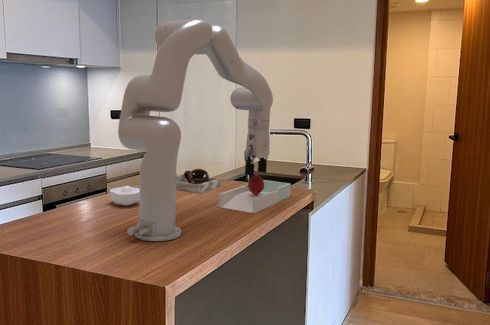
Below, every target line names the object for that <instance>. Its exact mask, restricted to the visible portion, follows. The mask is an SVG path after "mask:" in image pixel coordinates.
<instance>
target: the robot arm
mask: <svg viewBox="0 0 490 325" xmlns="http://www.w3.org/2000/svg"><path fill="white" fill-rule="evenodd" d="M154 40H155V44H156V46H157V47H158V50H157V53H156V56H155V60H154V63H153V68H152V72H151V74H149V75H148V74H144V75H143V74H142V75H137V76H134V77H133V78H131V79H130V81H129V82H128V83H127V85H126V86H125V89H124V94H123V99H122V104H121V108H120V109H121V110H120V116H119V121H118V129H117V130H118V131H117V132H118V133H117V134H118V140H119V142H120V144H121V145H122V146H123V147H124V148H126V149H129V150H133V151H137V152H138V151H139V152H146V153H145V155H144V157H143V159H142V161H141V163H140V167H139V189H140V198H139V213H138V214H139V219H138V220H136V222H137V223H136V224H135V226H131V227H128V228H127V234H128V236H134V238H136V239H138V240H141V241H145V242H146V241H147V242H167V241H172V240H175V239H178V238H179V237H180V236H181V235H182V229H181V227H179V226H177V225H176V221H177V220H176V219H177V218H176V215H177V211H176V210H177V208H176V207H177V190H176V176H177V166H178V165H177V164H178V155H179V149H180V144H181V139H182V138H181V137H182V133H181V132H182V131H181V128H180V126H179V125H178V123H177V122H176V121H175V120H173V119H171V118H169V117H165V116H159V115H158V116H157V115H151V112H155V113H157V112H158V113H171V112H174V111H177V109H178V108H179V107H180V105H181V102H182V99H183V98H182V97H183V92H184V87H185V86H184V85H185V81H186V75H187V70H188V66H189V62H190V61H191V59H192V57H193V56H194V55H206V56H207V57H208V59H209V61H210V63H211V64H212V65H213V67H214V69H215V71H216V72H217V75H219V77H220V78H222V79H224V80H226V81H227V82H231V83H233V84H236V85H239V86H241V87H238V88H236V89H234V90H233V91H232V92H231V94H230V98H229V99H230V104H231V105H232V107H234V108H235V109H237V110H240V111H248V119H247V136H246V143H245V145H246V147H245V150H244V151H243V156H244V164H245V166H244V167H245V168H244V174H245V175H246V176H255V163H254V162H255V161H256V159H258V162H257V172H258V173H266V172H267V166H268V165H267V163H268V157H269V156H270V145H271V144H270V119H271V107H272V106H273V103H274V96H273V92H272V90H271V87H270V86H269V84H268V82H267V80H266V78H265V77H264V76H263V75H262V74H261V73H260V72H259V71H258V70H256V69H255V68H253V67H252V66H250V64H248V63H247V62H245V61H243V59H242V58H241V55H240V54H239V52H238V50H237V48H236V46H235V44H234V42H233V41H232V38H231V37H230V34H229V33H228V31H227V30H226V28H224V26H222V25H220V24H210V22H208V21H207V20H204V19H200V18H193V19H182V20H181V19H180V20H169V21H163V22H161V23H160V24H159V25H158V26H157V27H156V29H155V30H154Z"/></svg>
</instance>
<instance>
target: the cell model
mask: <svg viewBox="0 0 490 325" xmlns="http://www.w3.org/2000/svg"><path fill="white" fill-rule="evenodd" d="M109 197H110V199H111V200H112V202H114V203H115V204H116V205H120V206H123V207H124V206H125V207H128V206H131V205H134V204H136V203H137V202H139V201H140V187H132V186H130V185H124V186H119V187H114V188H111V189H109Z"/></svg>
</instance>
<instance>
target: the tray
mask: <svg viewBox="0 0 490 325" xmlns="http://www.w3.org/2000/svg"><path fill="white" fill-rule="evenodd" d="M263 181H264V189H263V190H262V191H261V192H260V193H262V194H268V193H270V192H273V191H275V190H278V191H279V192H278V203H279V202H281V201H283V199H284V200H286V199H288V198H290V197H291V189H292V188H291V185H292V184H291V183H288V182H280V181H274V180H266V179H263ZM244 186H247V190H246V191H248V192H251V191H250V190H249V188H248V183H246V184H245V185H244Z"/></svg>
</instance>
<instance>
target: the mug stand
mask: <svg viewBox="0 0 490 325" xmlns="http://www.w3.org/2000/svg"><path fill="white" fill-rule="evenodd" d="M204 177H205V176H204ZM204 177H203V178H204ZM208 178H209V181H208V182H206V183H202V184H199V185H196V184H191V183H188V180H187V179H186V178H185V176H184V173H181V174H178V175H177V174H176V191H183V192H190V193H195V194H199V193H203V192H206V191H210V190H214V189H216V188H221V187H222V179H221V178H216V177H210V176H209V177H208ZM186 181H187V182H186Z"/></svg>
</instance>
